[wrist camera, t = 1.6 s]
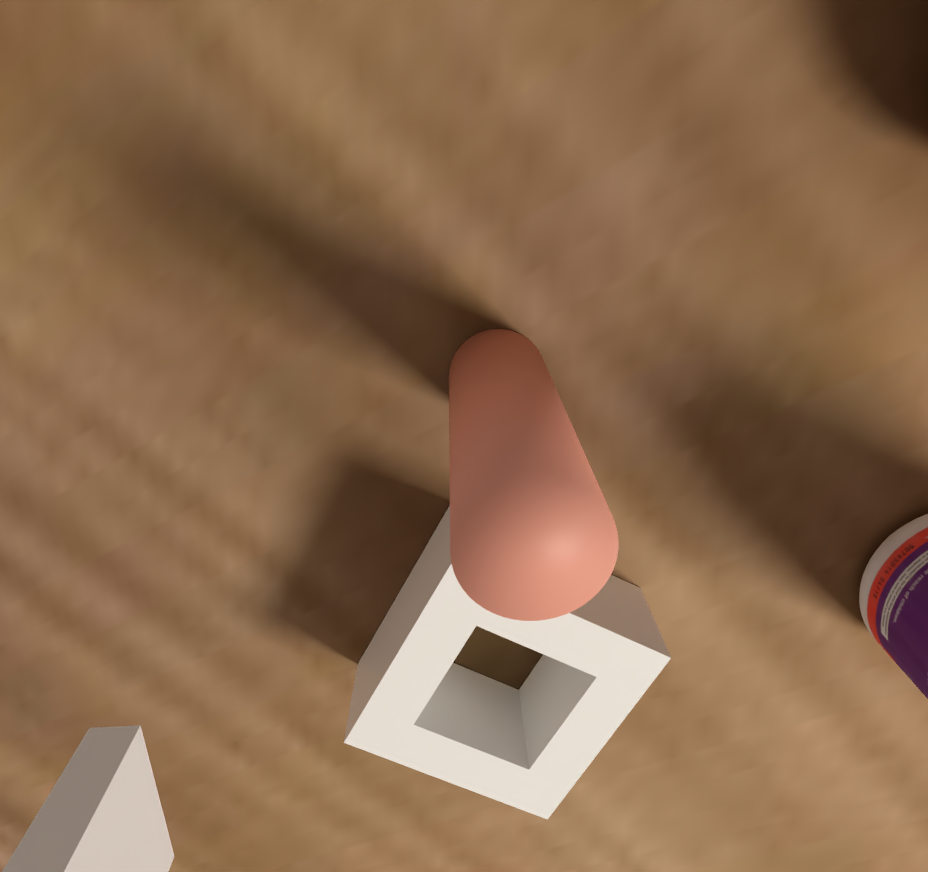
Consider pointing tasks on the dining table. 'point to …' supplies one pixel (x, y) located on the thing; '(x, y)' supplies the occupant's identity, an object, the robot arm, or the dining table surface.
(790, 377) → the dining table surface
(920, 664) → the pill bottle
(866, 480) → the dining table surface
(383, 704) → the socket block
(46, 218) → the dining table surface
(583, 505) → the peg
